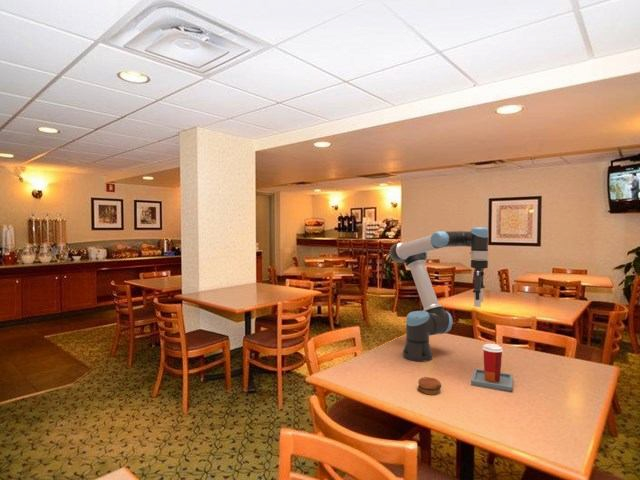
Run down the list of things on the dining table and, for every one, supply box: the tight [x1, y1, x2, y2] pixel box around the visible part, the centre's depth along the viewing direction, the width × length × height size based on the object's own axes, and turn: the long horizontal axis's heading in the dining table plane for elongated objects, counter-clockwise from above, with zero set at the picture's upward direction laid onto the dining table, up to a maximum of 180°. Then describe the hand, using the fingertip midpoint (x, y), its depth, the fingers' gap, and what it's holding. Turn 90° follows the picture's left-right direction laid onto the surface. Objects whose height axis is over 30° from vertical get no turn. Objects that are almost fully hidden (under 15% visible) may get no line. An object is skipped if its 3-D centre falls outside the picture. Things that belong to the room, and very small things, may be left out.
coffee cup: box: [482, 343, 504, 382], centre depth 168 cm, size 8×8×15 cm
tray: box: [470, 368, 514, 393], centre depth 168 cm, size 16×16×2 cm
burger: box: [417, 376, 442, 396], centre depth 160 cm, size 10×9×5 cm
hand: (478, 304), depth 182 cm, fingers open, 13 cm apart
